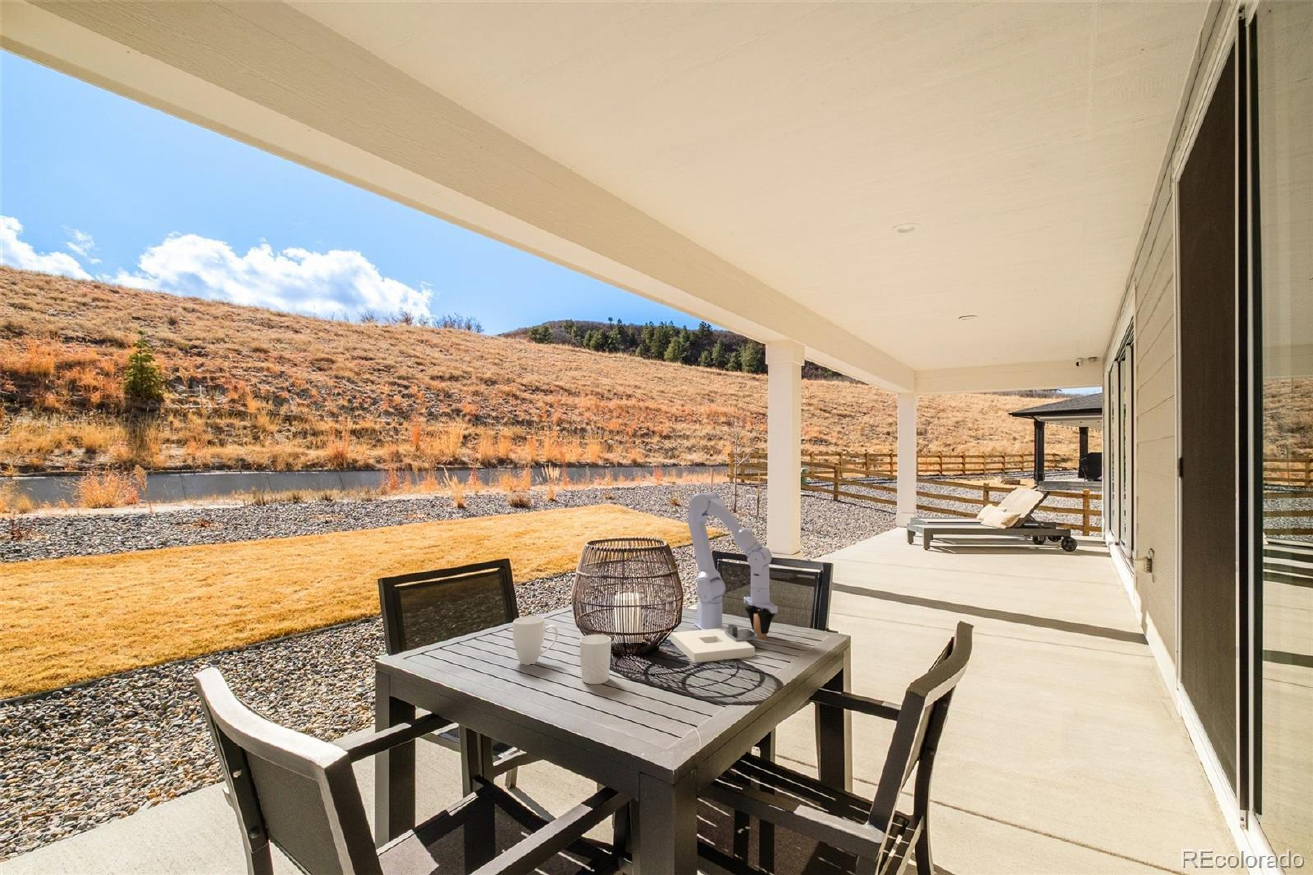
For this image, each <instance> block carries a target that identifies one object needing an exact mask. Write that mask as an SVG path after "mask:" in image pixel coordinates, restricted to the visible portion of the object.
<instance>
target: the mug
mask: <svg viewBox="0 0 1313 875" xmlns="http://www.w3.org/2000/svg"><path fill="white" fill-rule="evenodd" d="M545 626H546V625H545V618H543V617H542V616H538V615H537V616H536V615H528V616H520V617H518V618H517V617H516V618H515V619H514V620H513V622H512V641H513V646H514V649H515V652H516V655H517V657H518V660H519V663H520V664H521V665H522V664H525V665H524V666H531V665H530V664H533V665H535V664H536V663H538V659H539V657H540V655H542V654H544V653H545V652H547V651H548V650H549V649H550V648H551V647H552V646H554V644H555V643H556V642H557V640H558V637H559V631H558V629H557V626H556V625H554V624H549V625H548V626H546V627H545ZM550 628H552V629H553V630H554V632H555V637H554V640H553V641H552V642H551V644H549V645H548V646H547V647H546V648H545V649H543V650H542V648H543V645H544V641H545V636H546V632H547V630H549V629H550Z"/></svg>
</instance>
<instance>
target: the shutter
mask: <svg viewBox="0 0 1313 875" xmlns="http://www.w3.org/2000/svg"><path fill="white" fill-rule="evenodd" d="M727 627H728V628H727V629H728V631H725V634H726V635H728V636H729V637H731V638H732V639H734V640H735V641H742V640H745V641H748V640H749V641H750V640H760V636H759V635H757V634H756V633H754V631H752V630H750V629H749V628H743V629H738V626H736V625H735V624H728V625H727Z"/></svg>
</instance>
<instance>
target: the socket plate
mask: <svg viewBox="0 0 1313 875" xmlns="http://www.w3.org/2000/svg"><path fill="white" fill-rule="evenodd" d="M726 628H727V627H725V628H718V629H707V630H701V629H698V630H687V631H685V630H684V631H676V632H675V631H674V632H670V642H671V643H672V644H673V645H675V647H676V648H678V650H680V651H681V652H682V653H683V654H684V655H685V656H686V657H687V658H689V659H690V660H691V661H692V662H693V663H695V664H696V663H706V662H714V661H715V662H716V661H723V660H724V659H725V660H732V659H742V658H743V659H744V658H751V657H752V656H753V657H756V656H755V655H756V653H755V652H756V649H755V646H753V645H752V644H751V643H749V642H748V641H747V640H742V641H735V640H734V639H732V638H731V637H729V636H728V635H726V634H725V631H728V628H727V629H726ZM753 657H752V658H753Z"/></svg>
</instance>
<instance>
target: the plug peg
mask: <svg viewBox="0 0 1313 875" xmlns="http://www.w3.org/2000/svg"><path fill="white" fill-rule="evenodd" d="M758 611H760V609H758ZM753 632H754V633H756V634H757V635H759V636H760V639H761V640H762V639H763V640H764V639H767V638H768V633H767V634H762V633H761V625H760V619H759V615H758V613H754V630H753ZM760 639H759V640H760Z"/></svg>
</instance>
